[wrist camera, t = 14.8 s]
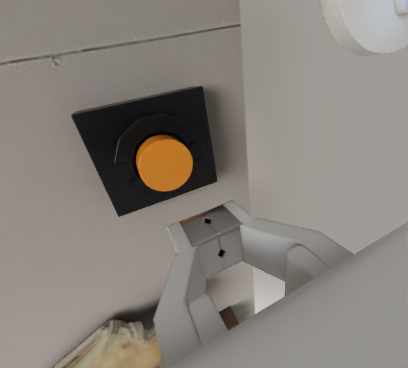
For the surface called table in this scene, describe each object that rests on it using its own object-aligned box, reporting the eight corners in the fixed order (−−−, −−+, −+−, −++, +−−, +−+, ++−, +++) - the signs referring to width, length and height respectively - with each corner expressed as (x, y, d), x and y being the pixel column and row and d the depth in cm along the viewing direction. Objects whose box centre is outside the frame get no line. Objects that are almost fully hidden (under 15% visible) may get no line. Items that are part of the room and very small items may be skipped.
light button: (179, 128, 16) (187, 132, 14) (190, 174, 18) (197, 181, 16) (128, 142, 15) (130, 148, 13) (145, 189, 17) (148, 198, 15)
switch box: (193, 86, 18) (211, 86, 15) (209, 174, 23) (226, 188, 19) (74, 111, 16) (65, 118, 12) (117, 205, 20) (119, 228, 17)
